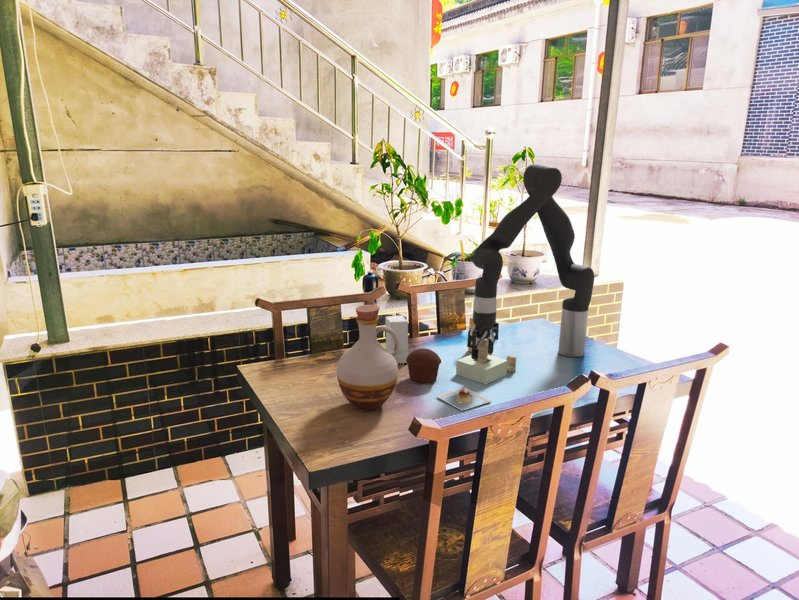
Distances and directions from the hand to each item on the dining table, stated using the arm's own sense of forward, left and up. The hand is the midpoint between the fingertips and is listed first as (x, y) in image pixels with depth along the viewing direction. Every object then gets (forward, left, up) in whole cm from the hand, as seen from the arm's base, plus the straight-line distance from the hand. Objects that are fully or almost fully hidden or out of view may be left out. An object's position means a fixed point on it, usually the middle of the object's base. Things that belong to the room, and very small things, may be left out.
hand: (482, 356), depth 200 cm
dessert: (+21, +8, -7) cm, 23 cm away
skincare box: (+11, -29, -7) cm, 32 cm away
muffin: (+17, -11, -7) cm, 21 cm away
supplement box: (-17, -13, -7) cm, 22 cm away
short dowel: (-10, +5, -7) cm, 13 cm away
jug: (+43, -9, -7) cm, 44 cm away
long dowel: (0, 0, -7) cm, 7 cm away
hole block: (0, 0, -7) cm, 7 cm away
